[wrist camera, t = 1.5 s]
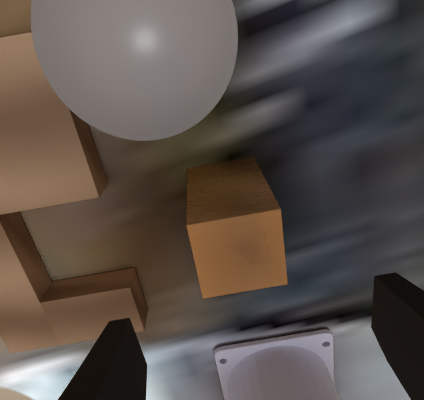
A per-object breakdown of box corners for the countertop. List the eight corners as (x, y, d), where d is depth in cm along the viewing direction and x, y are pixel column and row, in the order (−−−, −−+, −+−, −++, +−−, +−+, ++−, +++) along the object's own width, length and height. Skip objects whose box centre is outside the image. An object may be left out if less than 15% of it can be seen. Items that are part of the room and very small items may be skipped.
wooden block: (260, 215, 20) (287, 284, 14) (199, 225, 20) (202, 298, 14) (253, 156, 18) (280, 209, 13) (187, 168, 18) (186, 225, 13)
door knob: (242, 104, 17) (265, 135, 12) (100, 129, 17) (62, 171, 12) (220, -74, 14) (238, -135, 9) (48, -41, 14) (-33, -83, 9)
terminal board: (147, 308, 22) (143, 339, 20) (23, 329, 22) (6, 362, 20) (58, 30, 15) (36, 29, 13) (-122, 63, 15) (-173, 68, 13)
